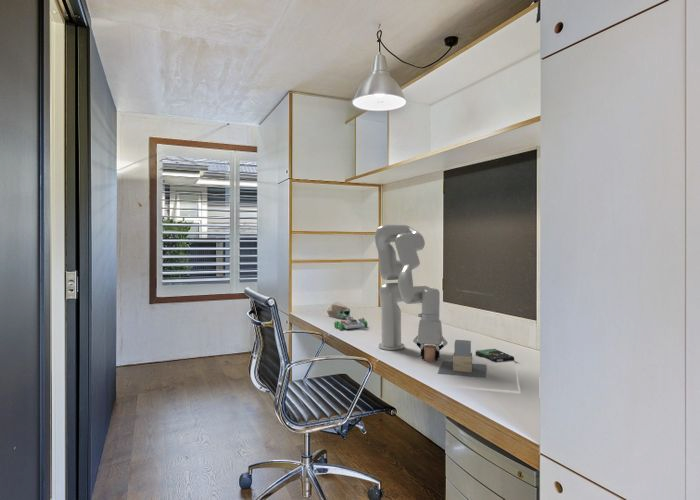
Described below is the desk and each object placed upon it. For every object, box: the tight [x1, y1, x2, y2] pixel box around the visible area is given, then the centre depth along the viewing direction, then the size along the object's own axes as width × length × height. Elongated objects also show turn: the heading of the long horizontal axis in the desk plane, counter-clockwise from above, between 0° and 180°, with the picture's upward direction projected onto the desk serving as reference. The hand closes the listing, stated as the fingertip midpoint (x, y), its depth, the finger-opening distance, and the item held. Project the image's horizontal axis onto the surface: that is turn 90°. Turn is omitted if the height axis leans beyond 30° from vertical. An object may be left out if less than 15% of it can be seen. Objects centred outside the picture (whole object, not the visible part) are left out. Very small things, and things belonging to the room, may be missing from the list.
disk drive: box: [475, 348, 515, 363], centre depth 195 cm, size 10×3×15 cm
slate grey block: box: [453, 339, 472, 357], centre depth 176 cm, size 6×6×5 cm
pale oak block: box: [452, 352, 473, 372], centre depth 177 cm, size 7×7×6 cm
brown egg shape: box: [423, 344, 437, 363], centre depth 190 cm, size 5×5×6 cm
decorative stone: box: [327, 301, 351, 320], centre depth 298 cm, size 20×8×10 cm, turn 38°
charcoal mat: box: [436, 360, 488, 379], centre depth 177 cm, size 18×18×1 cm
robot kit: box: [333, 309, 369, 331], centre depth 268 cm, size 19×25×9 cm
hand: (429, 358), depth 190 cm, fingers closed on brown egg shape, 5 cm apart
